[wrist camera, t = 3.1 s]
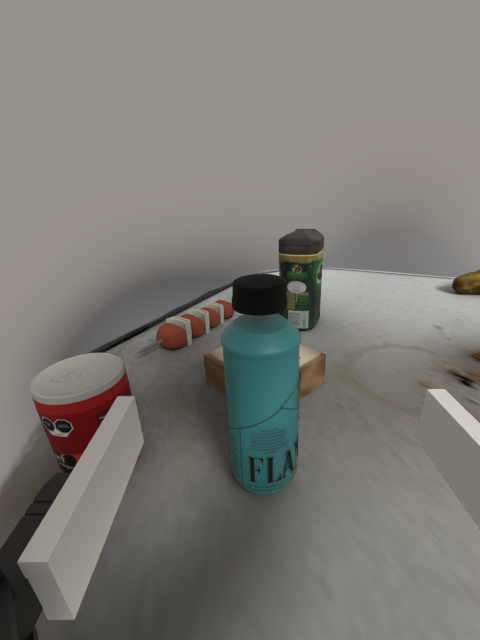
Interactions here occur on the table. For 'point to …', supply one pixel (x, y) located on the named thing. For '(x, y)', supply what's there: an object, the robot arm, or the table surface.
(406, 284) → the table surface
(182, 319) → the skewer
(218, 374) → the walnut pedestal
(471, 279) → the potato
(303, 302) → the coffee jar
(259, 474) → the beverage bottle
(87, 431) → the canned food
